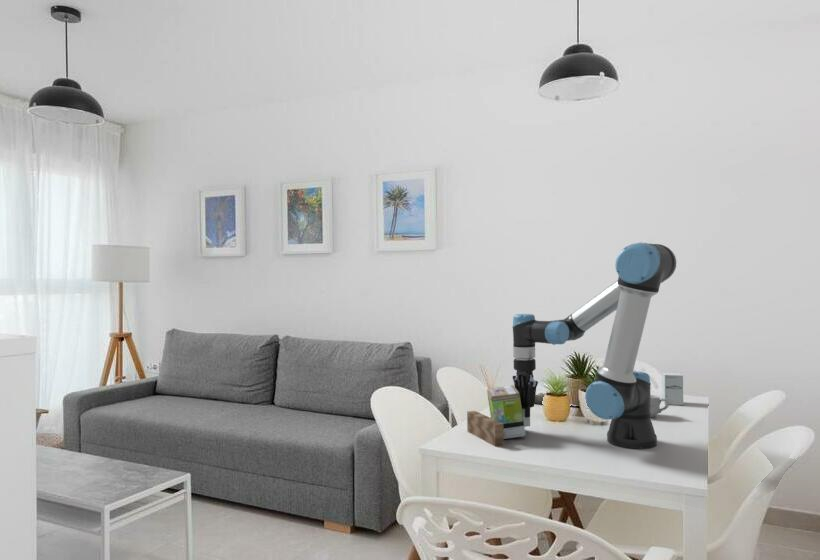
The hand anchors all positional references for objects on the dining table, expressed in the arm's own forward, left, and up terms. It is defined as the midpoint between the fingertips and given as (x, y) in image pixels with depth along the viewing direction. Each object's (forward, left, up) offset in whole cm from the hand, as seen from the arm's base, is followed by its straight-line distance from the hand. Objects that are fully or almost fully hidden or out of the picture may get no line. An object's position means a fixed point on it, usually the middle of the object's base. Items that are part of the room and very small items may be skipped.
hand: (525, 425), depth 198 cm
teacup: (0, -55, -3) cm, 55 cm away
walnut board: (-1, +16, -2) cm, 17 cm away
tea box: (0, +7, -2) cm, 7 cm away
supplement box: (+14, -81, -3) cm, 82 cm away
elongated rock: (+30, -39, -3) cm, 49 cm away
